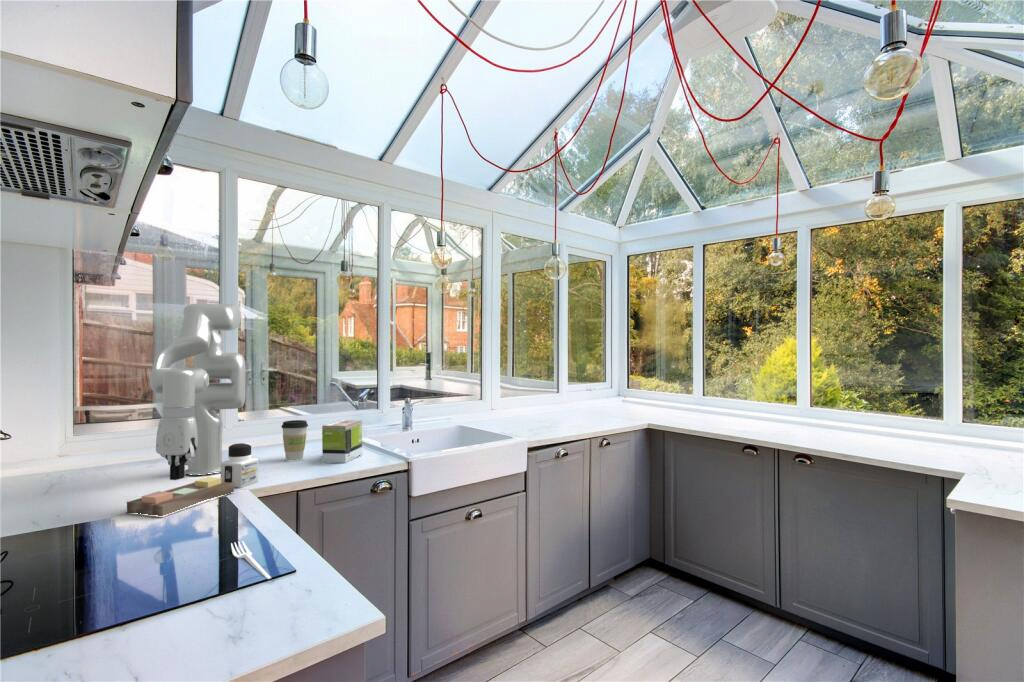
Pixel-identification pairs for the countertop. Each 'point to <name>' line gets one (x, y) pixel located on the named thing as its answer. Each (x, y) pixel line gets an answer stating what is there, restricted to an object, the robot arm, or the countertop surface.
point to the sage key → (184, 491)
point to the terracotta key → (157, 497)
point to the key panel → (180, 499)
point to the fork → (248, 558)
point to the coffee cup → (294, 438)
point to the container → (240, 466)
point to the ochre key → (207, 482)
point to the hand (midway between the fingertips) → (177, 478)
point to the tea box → (341, 441)
